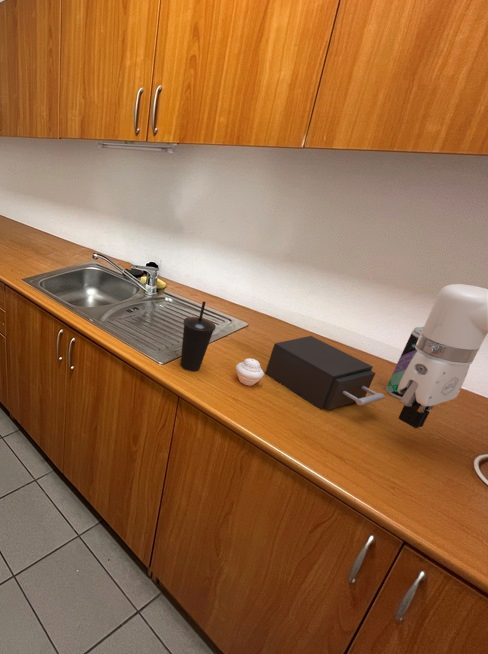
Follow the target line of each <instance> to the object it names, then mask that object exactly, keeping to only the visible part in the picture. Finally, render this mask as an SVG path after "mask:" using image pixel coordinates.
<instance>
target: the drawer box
mask: <svg viewBox="0 0 488 654" xmlns="http://www.w3.org/2000/svg"><path fill="white" fill-rule="evenodd" d="M373 367H374V366H373V365H372V364H369V363H367V362H365V361H363V360H361V359H359V358H357V357H355V356H352V355H350V354H348V353H347V352H344V351H342V350H341V349H338V348H337V347H334V346H332V345H330V344H328V343H327V342H325V341H323V340H320V339H319V338H317V337H314V336H312V335H307V336H303V337H298V338H293V339H289V340H284V341H279V342H275V343H274V344H273V347H272V350H271V353H270V357H269V360H268V362H267V365H266V368H265V373H264V375H266V376H268V377H269V378H271V379H272V380H274V381H275V382H277V383H279V384H280V385H282V386H283V387H284V388H286V389H288V390H289V391H291V392H292V393H294V394H296V395H297V396H299V397H300V398H301V399H303V400H305V401H306V402H308V403H309V404H311V405H312V406H315V407H316V408H317V409H319V410H324V409H327V408H326V407H324V404H325V402H326V399H327V397H328V394H329V392H330V389H331V387H332V384H333V382H334V379H335V378H338V377H342V376H346V375H350V374H354V373H358V372H359V373H361V372H365V371H369V370H371V371H373V370H372V369H373Z"/></svg>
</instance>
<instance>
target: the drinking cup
mask: <svg viewBox="0 0 488 654" xmlns="http://www.w3.org/2000/svg"><path fill="white" fill-rule="evenodd" d="M201 303H202V304H201V308H200V313H199V316H187V317H185V318H184V319H183V321H182V322H183V334H182V343H181V354H180V355H181V356H180V366H181V368H182V369H184V370H186V371H188V372H198V371H200V369H201V366H202V364H203V361H204V357H205V356H206V353H207V351H208V347H209V344H210V342H211V338H212V337H213V333H214V331H216V327H217V326H216V324H215V323H214V322H212V321H211V320H209V319H206V318H204V312H205V307H206V301H202V302H201Z"/></svg>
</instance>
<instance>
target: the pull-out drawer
mask: <svg viewBox="0 0 488 654" xmlns="http://www.w3.org/2000/svg"><path fill="white" fill-rule="evenodd" d="M375 375H376V372H375V371H373V370H369V371H365V372H361V373H359V372H358V373H354V374H350V375H346V376H344V377H341V378H337V379H334V382H333V384H332V387H331V389H330V392H329V394H328V397H327V399H326V402H325V404H324V407H326V408H325V409H328V410H331V409H335V408H338V407H343V406H346V405H350V404H354V403H355V404H356V405H358V406H364V405H368V404H372V403H375V402H379V401H382V400H384V399H385V398H386V397H385V395H384V393H381V392H378V393H377V392H376V391H374V390H372V389H371V388H370V387H371V384H372V382H373V380H374V377H375ZM367 393H369V394H370V395H367Z"/></svg>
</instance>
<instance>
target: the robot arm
mask: <svg viewBox="0 0 488 654" xmlns="http://www.w3.org/2000/svg"><path fill="white" fill-rule="evenodd" d="M423 327H424V328H423V330H422V332H421V334H420V337H419V339H418V341H417V343H416V346H415V348H416V350H417V352H416V354H415V355H414V357H413V359H412V360H411V362H410V364H409V365H408V367H407V369H406V371H405V373H404V375H403V377H402V379H401V381H400V383H399V386H398V393H399V394H404V395H403V397H402V398H401V399H399V403H400V405H403V407H402V408H401V411H400V413H399V416H398V420H400V421H402V422H404V423H405V424H407V425H409V427H410V426H411V427H412V428H414V429H418V428H422V427H423V426H424V425H425V422H426V421H427V418H428V417H429V415H430V412H431V411H432V410H433V408H434V407H435V405H438V404H443V403H446V402H449V401H452V400H454V399H456V398H457V397H458V395H459V394H460V392H461V390H462V387H463V385H464V382H465V380H466V377H467V375H468V372H469V370H470V366H471V365H472V364H473V362H474V360H475V358H476V356H477V354H478V352H479V350H480V348H481V346H482V344H483V342H484V341H485V339H486V337H487V335H488V288H484V287H481V286H477V285H472V284H470V285H469V284H463V283H452V284H447V285H445V286H443V287H442V288H441V289H440V290H439V292H438V294H437V296H436V298H435V301H434V303H433V305H432V307H431V310H430V312H429V314H428V316H427V319H426V321H425V323H424V326H423Z"/></svg>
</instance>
